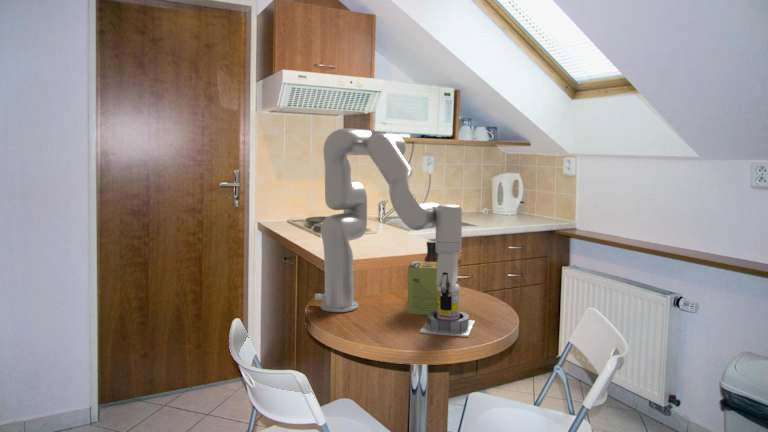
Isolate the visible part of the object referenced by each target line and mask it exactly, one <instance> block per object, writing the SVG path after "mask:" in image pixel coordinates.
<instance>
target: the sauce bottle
mask: <svg viewBox="0 0 768 432" xmlns="http://www.w3.org/2000/svg"><path fill="white" fill-rule="evenodd" d="M426 248H427V250H426V252H427V253H426V255H425V257H424V262H437V260H438V253H437V252H436V240H427V241H426Z"/></svg>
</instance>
